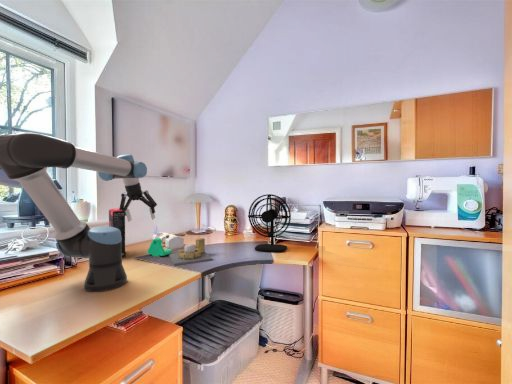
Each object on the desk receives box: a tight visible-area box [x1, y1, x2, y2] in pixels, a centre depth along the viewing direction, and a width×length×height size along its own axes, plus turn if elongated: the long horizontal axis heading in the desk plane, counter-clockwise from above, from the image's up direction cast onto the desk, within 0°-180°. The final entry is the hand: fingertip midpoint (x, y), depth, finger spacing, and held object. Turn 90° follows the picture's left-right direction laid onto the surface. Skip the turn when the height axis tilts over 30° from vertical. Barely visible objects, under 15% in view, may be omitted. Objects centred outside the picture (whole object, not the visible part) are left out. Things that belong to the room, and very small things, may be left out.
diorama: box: [152, 225, 185, 250], centre depth 175 cm, size 25×10×13 cm, turn 45°
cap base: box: [168, 243, 213, 267], centre depth 143 cm, size 20×20×7 cm
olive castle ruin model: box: [178, 237, 206, 259], centre depth 145 cm, size 16×12×8 cm
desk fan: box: [247, 193, 292, 253], centre depth 160 cm, size 27×18×35 cm, turn 73°
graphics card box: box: [108, 208, 126, 258], centre depth 150 cm, size 17×7×27 cm, turn 37°
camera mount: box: [146, 237, 173, 258], centre depth 151 cm, size 12×8×10 cm, turn 68°
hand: (141, 219), depth 143 cm, fingers open, 13 cm apart
